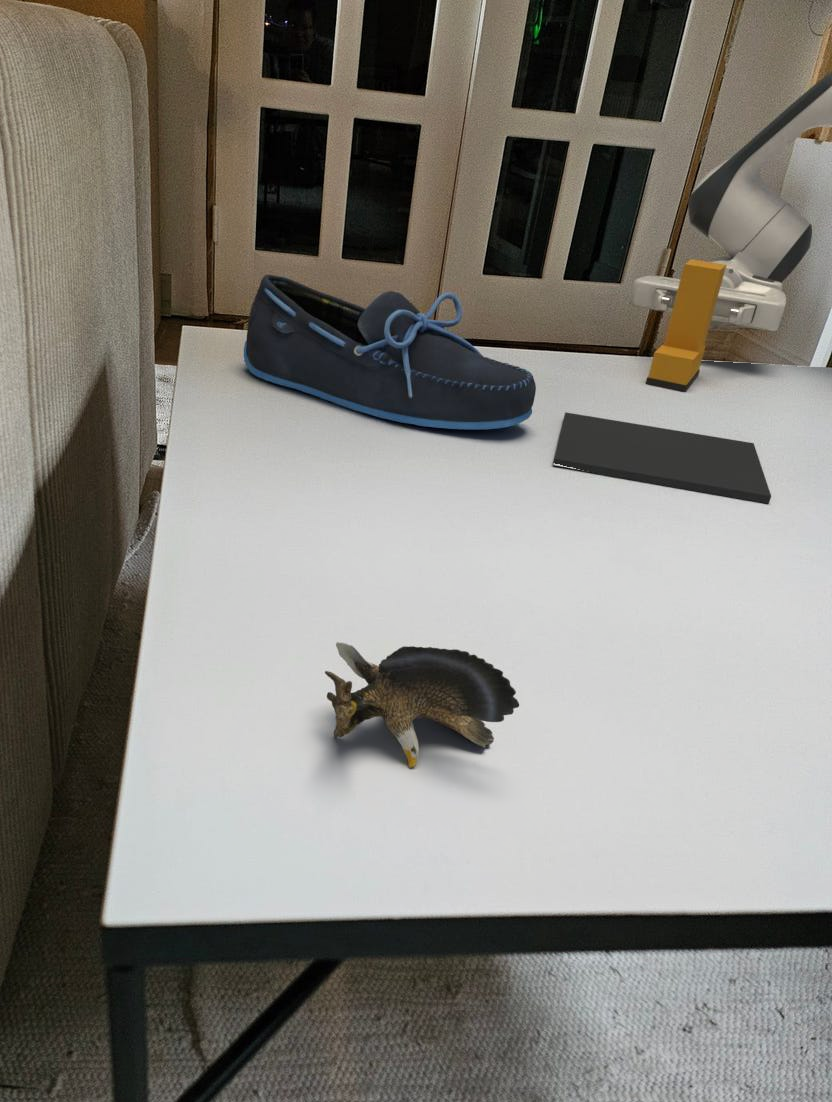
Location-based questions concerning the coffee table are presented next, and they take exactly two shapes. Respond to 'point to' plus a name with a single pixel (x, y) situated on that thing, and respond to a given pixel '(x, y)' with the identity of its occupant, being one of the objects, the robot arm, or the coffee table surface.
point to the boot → (687, 326)
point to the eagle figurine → (423, 694)
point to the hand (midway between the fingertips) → (697, 310)
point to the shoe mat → (662, 457)
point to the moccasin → (381, 359)
